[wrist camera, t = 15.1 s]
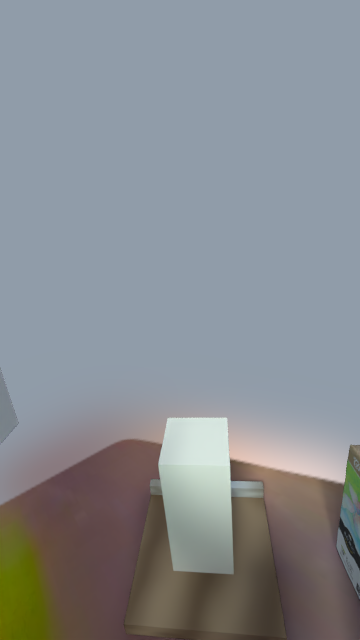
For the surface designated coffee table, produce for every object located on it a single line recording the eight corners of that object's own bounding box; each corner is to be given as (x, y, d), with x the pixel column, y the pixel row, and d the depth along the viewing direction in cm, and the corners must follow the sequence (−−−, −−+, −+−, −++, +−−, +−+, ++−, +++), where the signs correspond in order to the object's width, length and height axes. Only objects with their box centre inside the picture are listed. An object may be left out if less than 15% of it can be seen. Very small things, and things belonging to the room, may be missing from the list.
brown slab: (126, 633, 28) (121, 614, 27) (154, 494, 41) (151, 477, 40) (286, 647, 26) (287, 627, 25) (261, 497, 39) (262, 480, 38)
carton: (233, 574, 30) (230, 465, 25) (173, 570, 31) (158, 464, 26) (230, 515, 36) (227, 416, 31) (179, 513, 37) (168, 416, 32)
